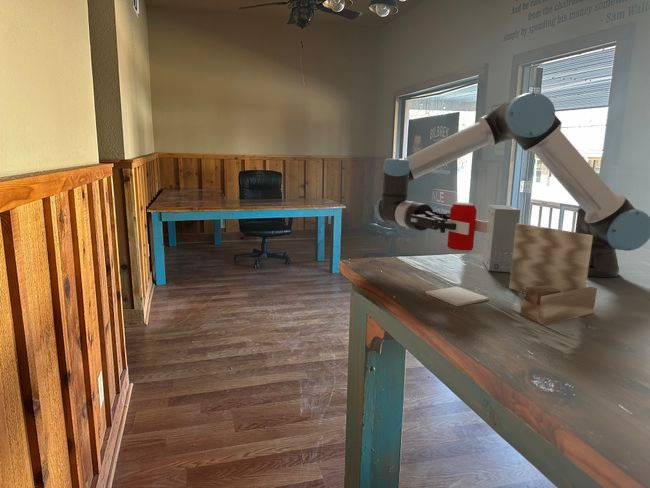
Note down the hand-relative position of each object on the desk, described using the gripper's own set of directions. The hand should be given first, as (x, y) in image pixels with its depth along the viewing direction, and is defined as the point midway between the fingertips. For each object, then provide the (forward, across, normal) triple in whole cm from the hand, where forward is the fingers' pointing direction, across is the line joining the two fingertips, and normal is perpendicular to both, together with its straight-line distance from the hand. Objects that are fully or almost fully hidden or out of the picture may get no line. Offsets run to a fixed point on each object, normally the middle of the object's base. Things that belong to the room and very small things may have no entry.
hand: (477, 228), depth 108 cm
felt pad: (-5, 0, -19) cm, 19 cm away
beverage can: (-5, 0, -7) cm, 8 cm away
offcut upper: (+13, -8, -15) cm, 22 cm away
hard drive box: (-23, -37, -19) cm, 47 cm away
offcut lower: (+13, -8, -19) cm, 24 cm away
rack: (+7, -12, -18) cm, 23 cm away
